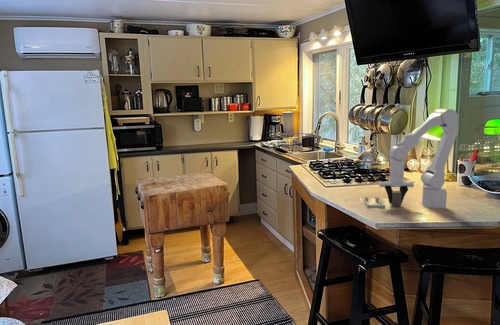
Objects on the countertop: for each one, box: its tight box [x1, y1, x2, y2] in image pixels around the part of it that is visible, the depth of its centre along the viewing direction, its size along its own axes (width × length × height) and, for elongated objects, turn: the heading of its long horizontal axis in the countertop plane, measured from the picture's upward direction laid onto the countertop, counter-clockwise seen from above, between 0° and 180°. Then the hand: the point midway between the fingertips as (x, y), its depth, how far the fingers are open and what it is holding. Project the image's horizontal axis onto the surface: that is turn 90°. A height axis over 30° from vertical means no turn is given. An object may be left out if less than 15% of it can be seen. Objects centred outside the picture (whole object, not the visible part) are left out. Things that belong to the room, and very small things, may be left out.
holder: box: [365, 201, 385, 208], centre depth 168 cm, size 8×7×1 cm
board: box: [358, 197, 405, 211], centre depth 171 cm, size 16×18×1 cm
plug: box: [390, 190, 402, 207], centre depth 171 cm, size 4×12×6 cm, turn 173°
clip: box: [364, 195, 380, 202], centre depth 176 cm, size 6×2×2 cm, turn 83°
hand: (395, 202), depth 167 cm, fingers closed on plug, 4 cm apart
